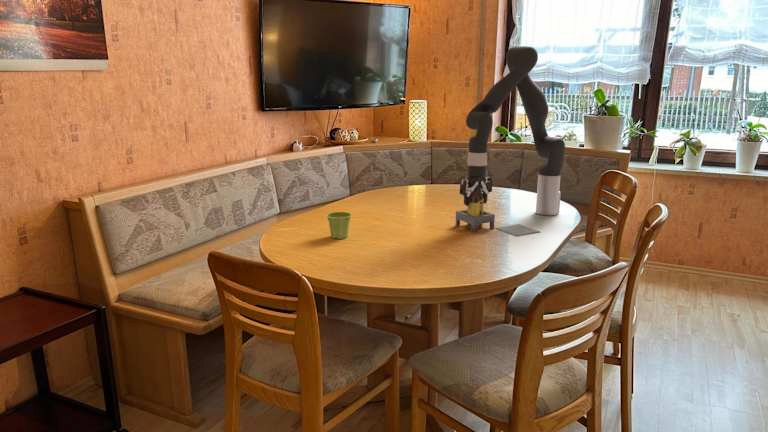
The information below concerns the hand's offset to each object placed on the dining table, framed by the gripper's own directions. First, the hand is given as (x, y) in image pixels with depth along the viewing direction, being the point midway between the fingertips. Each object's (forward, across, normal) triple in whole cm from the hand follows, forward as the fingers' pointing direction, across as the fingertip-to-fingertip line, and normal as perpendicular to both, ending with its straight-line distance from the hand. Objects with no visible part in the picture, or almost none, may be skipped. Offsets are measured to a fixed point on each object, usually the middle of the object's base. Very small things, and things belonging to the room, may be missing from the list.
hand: (475, 204), depth 228 cm
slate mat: (+9, -12, +12) cm, 19 cm away
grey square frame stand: (+10, 0, 0) cm, 10 cm away
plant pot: (+10, +53, -14) cm, 56 cm away
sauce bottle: (+10, 0, 0) cm, 10 cm away
